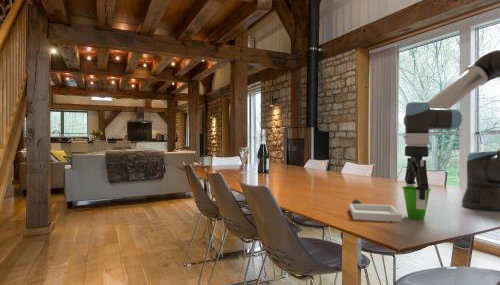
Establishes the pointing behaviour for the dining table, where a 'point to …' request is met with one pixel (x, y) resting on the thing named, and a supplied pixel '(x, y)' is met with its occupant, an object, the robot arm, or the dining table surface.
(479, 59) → the robot arm
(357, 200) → the ball
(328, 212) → the dining table surface
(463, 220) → the dining table surface
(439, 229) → the dining table surface
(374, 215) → the tray
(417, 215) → the cup
